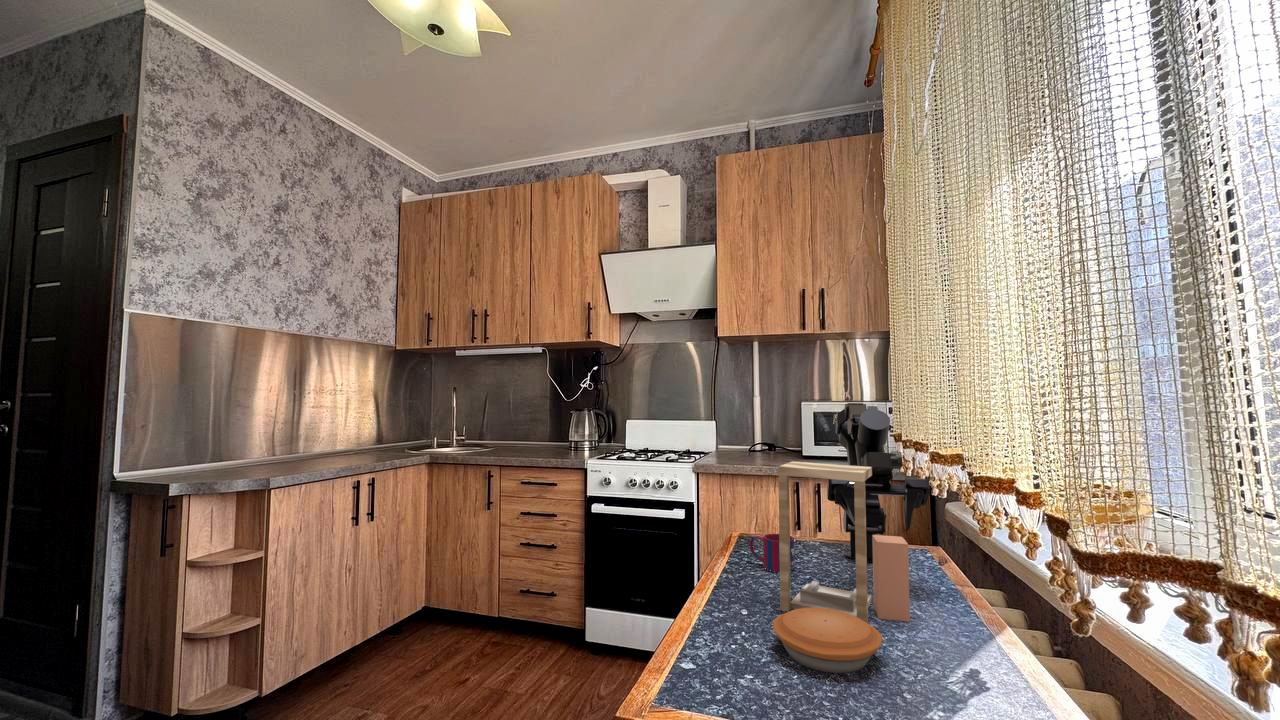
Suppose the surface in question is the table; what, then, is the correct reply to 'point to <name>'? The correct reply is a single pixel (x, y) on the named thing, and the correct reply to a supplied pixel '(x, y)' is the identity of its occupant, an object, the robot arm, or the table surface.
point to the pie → (827, 639)
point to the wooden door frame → (859, 598)
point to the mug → (773, 552)
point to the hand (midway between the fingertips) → (882, 527)
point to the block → (891, 577)
